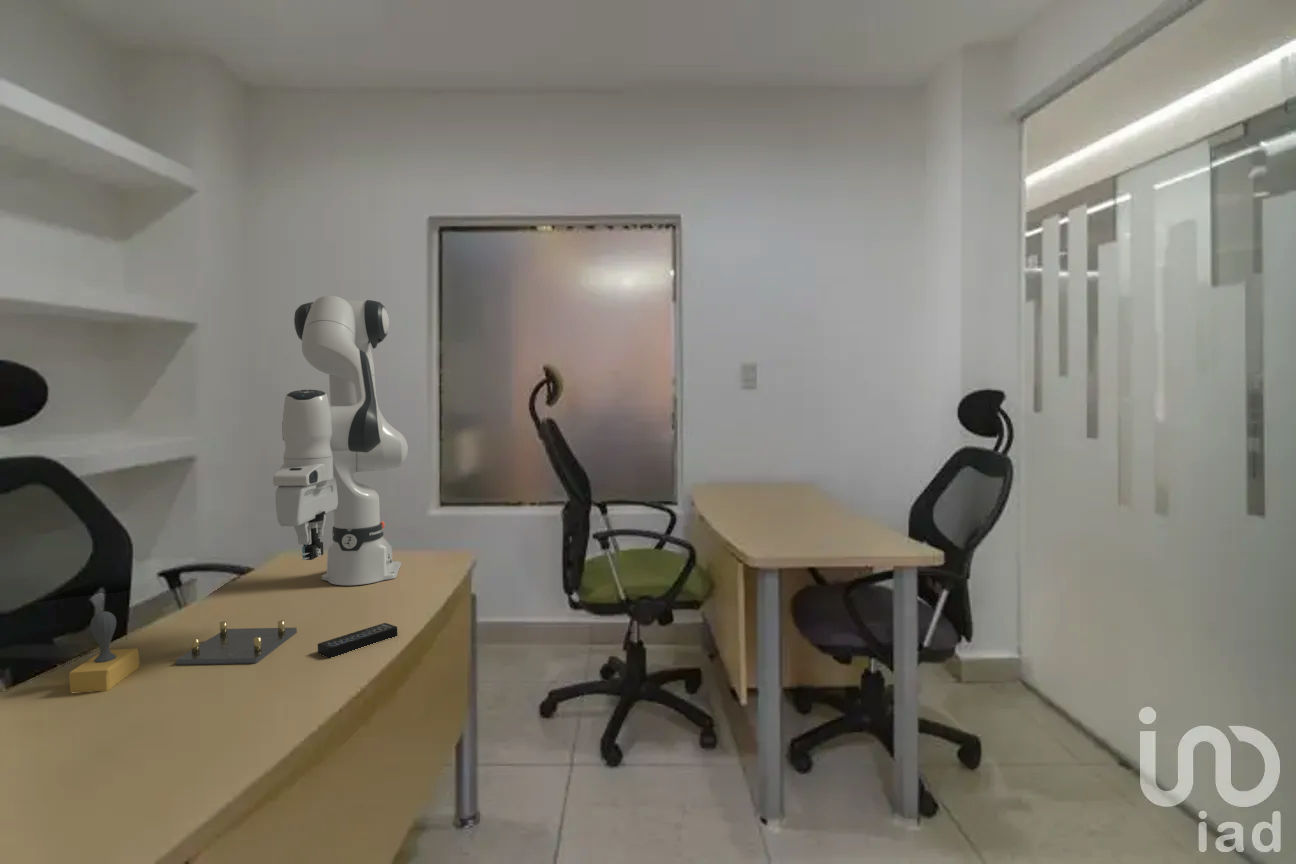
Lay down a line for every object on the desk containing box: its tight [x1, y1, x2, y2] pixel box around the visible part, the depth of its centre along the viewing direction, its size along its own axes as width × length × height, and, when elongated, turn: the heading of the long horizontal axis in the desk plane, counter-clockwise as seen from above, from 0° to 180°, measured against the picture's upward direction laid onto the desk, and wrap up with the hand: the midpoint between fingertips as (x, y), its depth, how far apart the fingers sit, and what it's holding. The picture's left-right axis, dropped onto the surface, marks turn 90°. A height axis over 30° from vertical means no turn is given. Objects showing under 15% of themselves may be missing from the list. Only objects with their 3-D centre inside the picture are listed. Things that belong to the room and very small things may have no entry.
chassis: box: [175, 619, 298, 666], centre depth 133 cm, size 16×14×4 cm
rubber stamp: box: [68, 610, 140, 694], centre depth 118 cm, size 10×6×12 cm, turn 11°
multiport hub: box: [317, 622, 398, 659], centre depth 135 cm, size 4×14×2 cm, turn 145°
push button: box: [301, 508, 325, 561], centre depth 139 cm, size 7×5×10 cm
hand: (311, 540), depth 139 cm, fingers closed on push button, 5 cm apart
